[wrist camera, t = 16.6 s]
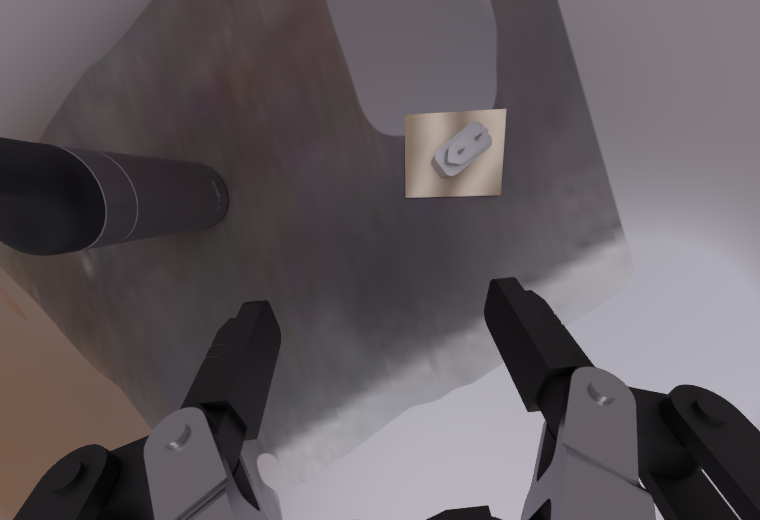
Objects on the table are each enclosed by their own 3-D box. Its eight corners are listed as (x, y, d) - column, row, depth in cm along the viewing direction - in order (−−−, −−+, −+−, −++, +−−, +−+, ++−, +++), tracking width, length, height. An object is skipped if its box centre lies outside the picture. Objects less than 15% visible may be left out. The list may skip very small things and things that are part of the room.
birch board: (405, 197, 39) (405, 197, 38) (405, 116, 37) (404, 114, 36) (498, 195, 37) (500, 195, 37) (503, 111, 35) (506, 108, 34)
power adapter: (428, 161, 37) (435, 148, 25) (464, 131, 35) (489, 102, 24) (443, 181, 37) (457, 177, 25) (479, 152, 36) (511, 134, 24)
